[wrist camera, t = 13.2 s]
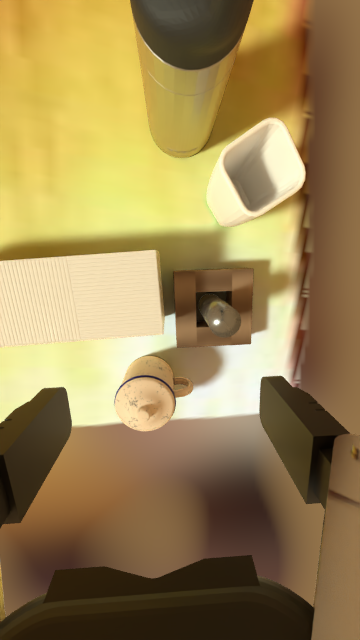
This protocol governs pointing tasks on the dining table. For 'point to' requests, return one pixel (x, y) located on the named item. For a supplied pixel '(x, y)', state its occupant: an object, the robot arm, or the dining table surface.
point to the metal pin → (219, 315)
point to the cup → (255, 174)
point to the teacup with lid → (149, 394)
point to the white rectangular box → (80, 298)
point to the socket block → (211, 280)
